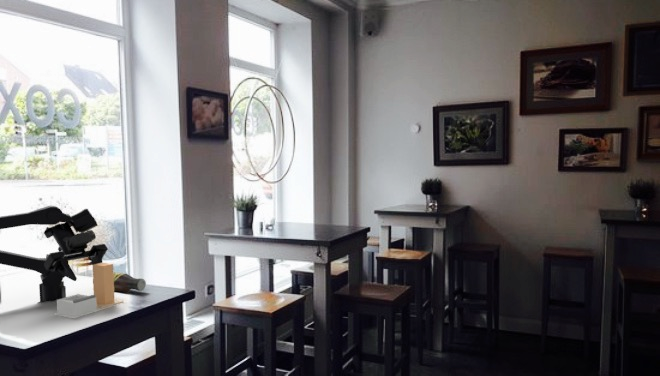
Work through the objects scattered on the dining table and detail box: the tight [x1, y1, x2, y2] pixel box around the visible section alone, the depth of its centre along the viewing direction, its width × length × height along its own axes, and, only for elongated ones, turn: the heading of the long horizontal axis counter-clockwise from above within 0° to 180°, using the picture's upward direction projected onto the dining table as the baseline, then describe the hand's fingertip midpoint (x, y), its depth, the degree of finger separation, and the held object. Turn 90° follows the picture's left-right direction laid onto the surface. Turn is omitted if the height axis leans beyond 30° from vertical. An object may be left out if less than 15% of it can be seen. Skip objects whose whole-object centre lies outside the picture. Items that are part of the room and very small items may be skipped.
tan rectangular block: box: [92, 262, 115, 305], centre depth 153 cm, size 5×3×12 cm
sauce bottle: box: [113, 271, 147, 293], centre depth 172 cm, size 6×6×20 cm
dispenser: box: [53, 293, 126, 319], centre depth 149 cm, size 9×18×6 cm, turn 152°
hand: (89, 276), depth 155 cm, fingers open, 9 cm apart
